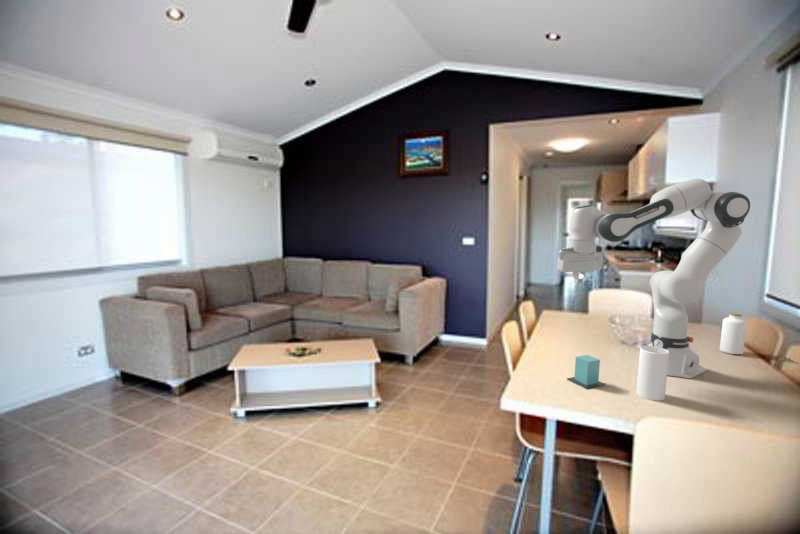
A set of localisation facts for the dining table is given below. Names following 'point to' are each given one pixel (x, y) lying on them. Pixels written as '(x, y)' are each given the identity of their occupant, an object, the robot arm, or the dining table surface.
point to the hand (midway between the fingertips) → (578, 282)
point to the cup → (652, 372)
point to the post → (586, 385)
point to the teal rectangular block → (587, 369)
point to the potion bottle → (733, 334)
